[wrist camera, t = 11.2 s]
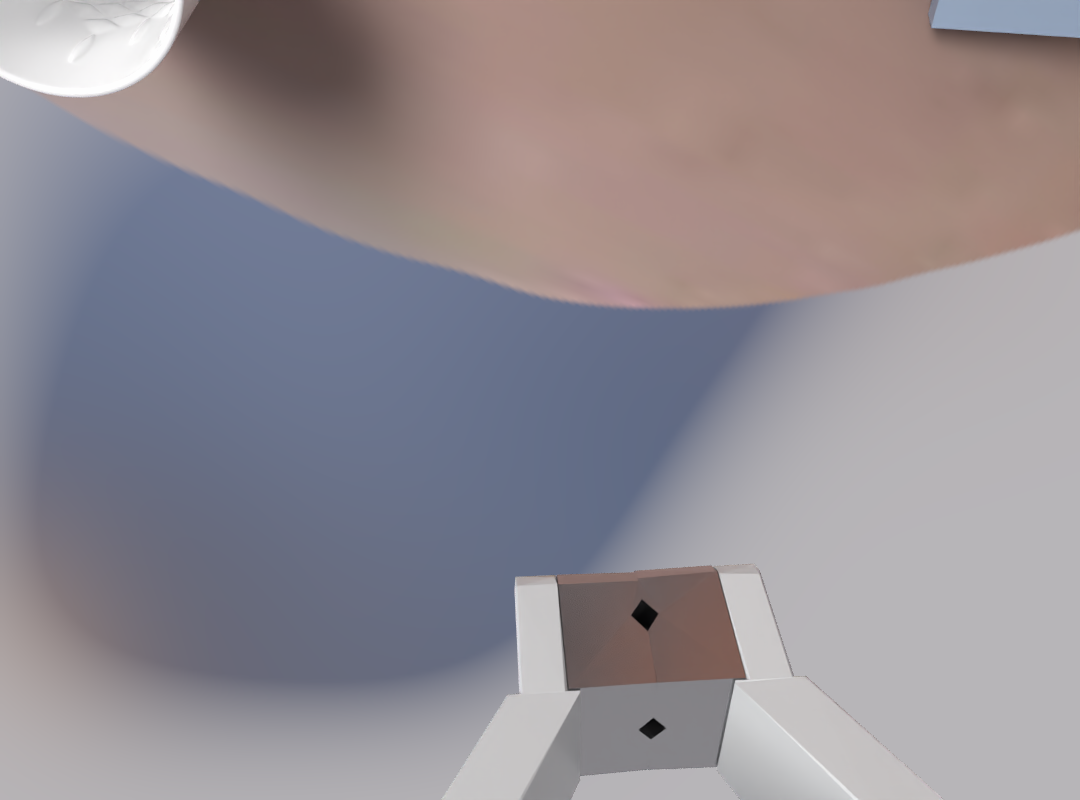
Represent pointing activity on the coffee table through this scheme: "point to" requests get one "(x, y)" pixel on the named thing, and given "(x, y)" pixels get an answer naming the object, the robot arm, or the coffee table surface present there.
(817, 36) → the coffee table surface
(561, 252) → the coffee table surface
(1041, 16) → the domino
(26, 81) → the white cup
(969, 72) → the coffee table surface
